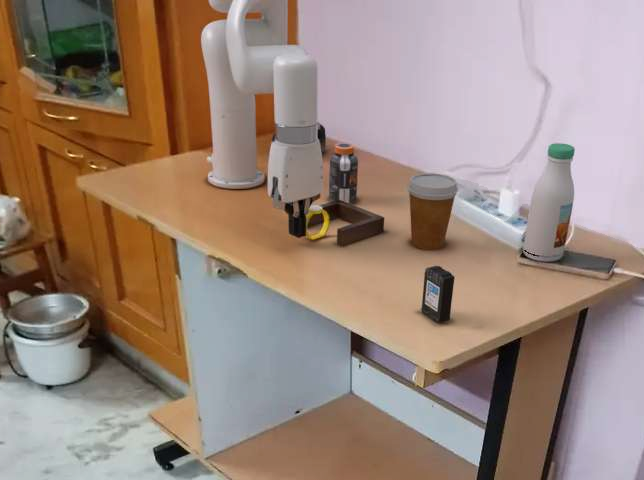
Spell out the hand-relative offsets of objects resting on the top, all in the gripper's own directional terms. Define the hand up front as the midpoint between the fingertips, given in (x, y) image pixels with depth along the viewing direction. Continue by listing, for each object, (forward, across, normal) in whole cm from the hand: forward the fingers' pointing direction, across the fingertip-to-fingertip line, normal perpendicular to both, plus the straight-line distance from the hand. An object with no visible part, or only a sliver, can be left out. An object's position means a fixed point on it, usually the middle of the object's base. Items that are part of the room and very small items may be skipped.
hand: (297, 235), depth 160 cm
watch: (+2, -5, 0) cm, 5 cm away
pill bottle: (+2, -24, -13) cm, 27 cm away
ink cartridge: (+3, +3, +38) cm, 38 cm away
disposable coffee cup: (+2, -20, +15) cm, 25 cm away
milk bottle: (+2, -33, +33) cm, 47 cm away
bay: (+2, -11, -1) cm, 11 cm away
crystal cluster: (+1, -40, -45) cm, 60 cm away
